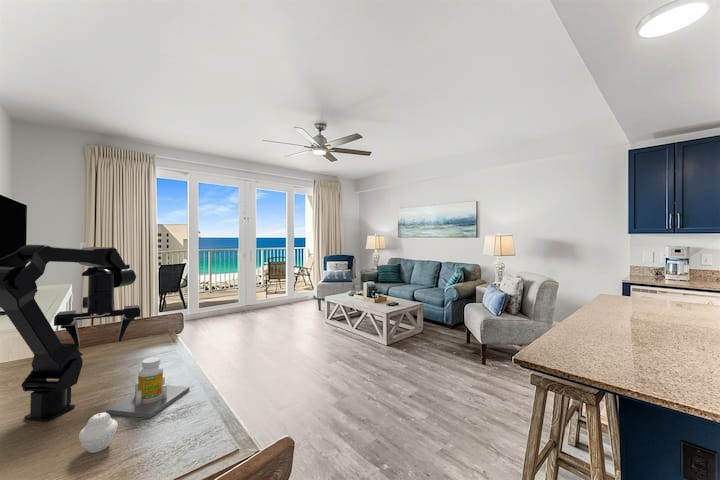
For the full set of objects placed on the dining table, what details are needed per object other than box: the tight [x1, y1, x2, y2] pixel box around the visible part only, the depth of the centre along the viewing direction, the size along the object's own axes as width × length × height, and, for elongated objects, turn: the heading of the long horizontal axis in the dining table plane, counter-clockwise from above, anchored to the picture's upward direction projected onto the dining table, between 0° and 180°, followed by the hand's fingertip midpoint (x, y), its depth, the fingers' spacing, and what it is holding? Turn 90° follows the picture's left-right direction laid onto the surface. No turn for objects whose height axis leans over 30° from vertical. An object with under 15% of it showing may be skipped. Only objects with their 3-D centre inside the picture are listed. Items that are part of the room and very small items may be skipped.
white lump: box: [78, 412, 119, 454], centre depth 64 cm, size 6×6×7 cm
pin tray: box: [105, 376, 190, 419], centre depth 82 cm, size 14×12×4 cm
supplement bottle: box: [137, 356, 164, 401], centre depth 82 cm, size 5×5×10 cm
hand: (99, 344), depth 90 cm, fingers open, 9 cm apart
